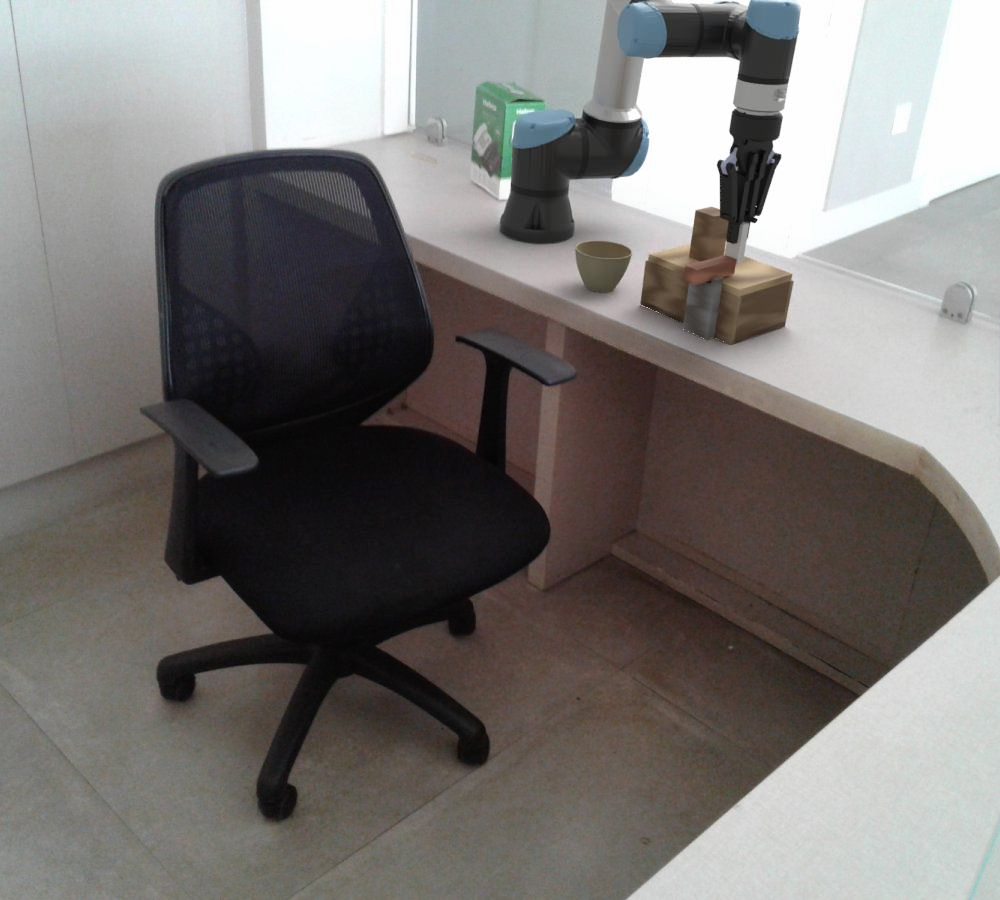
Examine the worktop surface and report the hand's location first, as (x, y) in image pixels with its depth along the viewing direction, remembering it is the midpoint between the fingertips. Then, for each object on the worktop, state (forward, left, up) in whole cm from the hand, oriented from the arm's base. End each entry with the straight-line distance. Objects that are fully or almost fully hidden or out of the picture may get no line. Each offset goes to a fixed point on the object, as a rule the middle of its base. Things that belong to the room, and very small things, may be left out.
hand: (733, 261), depth 168 cm
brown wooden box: (-4, +2, -11) cm, 12 cm away
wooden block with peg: (-4, +2, -3) cm, 5 cm away
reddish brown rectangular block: (0, -5, -2) cm, 6 cm away
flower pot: (-24, -5, -12) cm, 27 cm away
